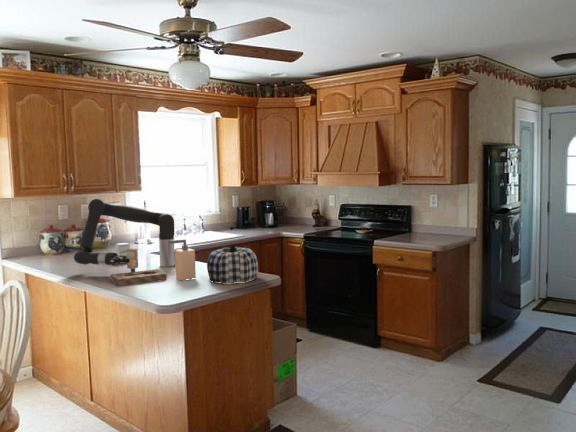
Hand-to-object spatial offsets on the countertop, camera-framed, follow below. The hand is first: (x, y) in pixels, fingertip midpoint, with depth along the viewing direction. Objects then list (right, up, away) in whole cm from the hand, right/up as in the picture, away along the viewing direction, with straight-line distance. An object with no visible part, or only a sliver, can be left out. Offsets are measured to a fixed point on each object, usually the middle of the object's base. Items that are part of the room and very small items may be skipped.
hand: (132, 259), depth 299 cm
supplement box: (-20, -6, +46) cm, 51 cm away
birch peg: (0, -9, +1) cm, 10 cm away
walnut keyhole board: (+7, -10, -12) cm, 18 cm away
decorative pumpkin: (+59, -10, -13) cm, 61 cm away
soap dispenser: (+31, -10, -11) cm, 34 cm away
